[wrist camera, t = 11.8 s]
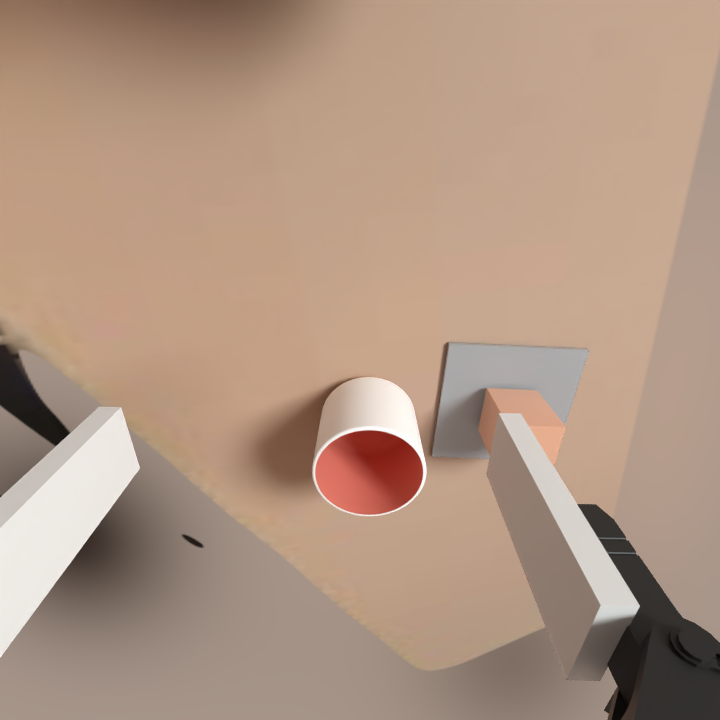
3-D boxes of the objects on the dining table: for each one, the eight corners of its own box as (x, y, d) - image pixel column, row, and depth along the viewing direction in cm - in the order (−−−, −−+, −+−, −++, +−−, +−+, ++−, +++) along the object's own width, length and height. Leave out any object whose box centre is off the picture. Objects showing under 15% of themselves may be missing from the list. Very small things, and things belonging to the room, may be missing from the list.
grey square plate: (448, 342, 40) (464, 373, 33) (586, 348, 40) (628, 381, 34) (431, 453, 46) (442, 498, 39) (551, 458, 46) (581, 504, 40)
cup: (425, 383, 42) (442, 441, 33) (398, 456, 46) (406, 526, 37) (333, 362, 41) (325, 415, 32) (314, 438, 45) (301, 505, 36)
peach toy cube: (486, 388, 41) (507, 424, 35) (536, 390, 41) (566, 427, 35) (477, 429, 43) (496, 470, 37) (525, 431, 43) (551, 473, 37)
